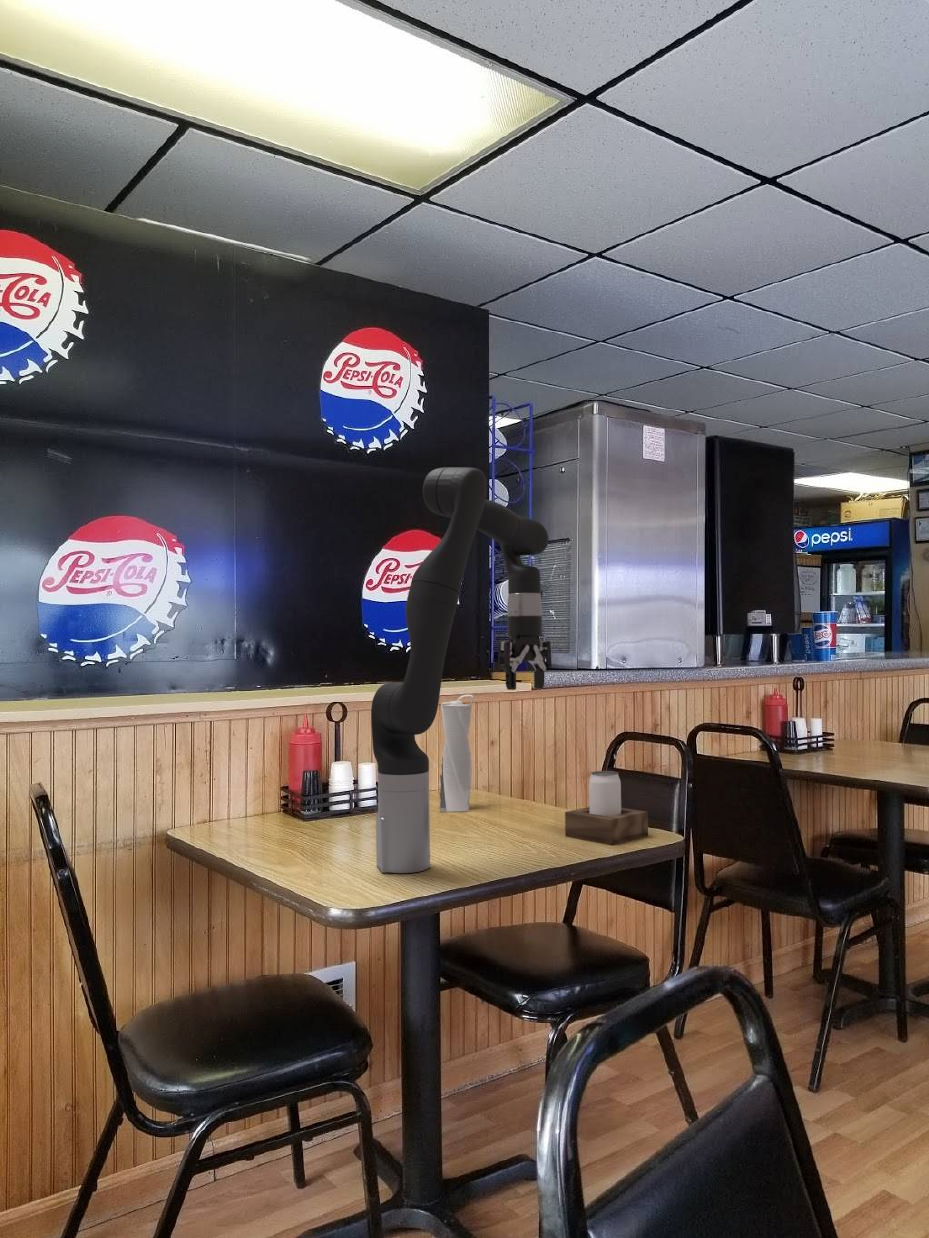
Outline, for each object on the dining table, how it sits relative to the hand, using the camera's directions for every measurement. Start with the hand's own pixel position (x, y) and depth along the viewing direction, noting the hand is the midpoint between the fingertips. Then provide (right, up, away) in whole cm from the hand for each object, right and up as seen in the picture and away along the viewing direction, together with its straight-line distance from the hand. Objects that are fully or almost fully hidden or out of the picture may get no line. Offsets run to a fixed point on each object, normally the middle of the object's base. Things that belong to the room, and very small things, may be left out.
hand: (525, 688), depth 203 cm
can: (+16, -29, -11) cm, 35 cm away
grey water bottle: (-15, -31, +21) cm, 41 cm away
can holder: (+16, -30, -11) cm, 35 cm away
